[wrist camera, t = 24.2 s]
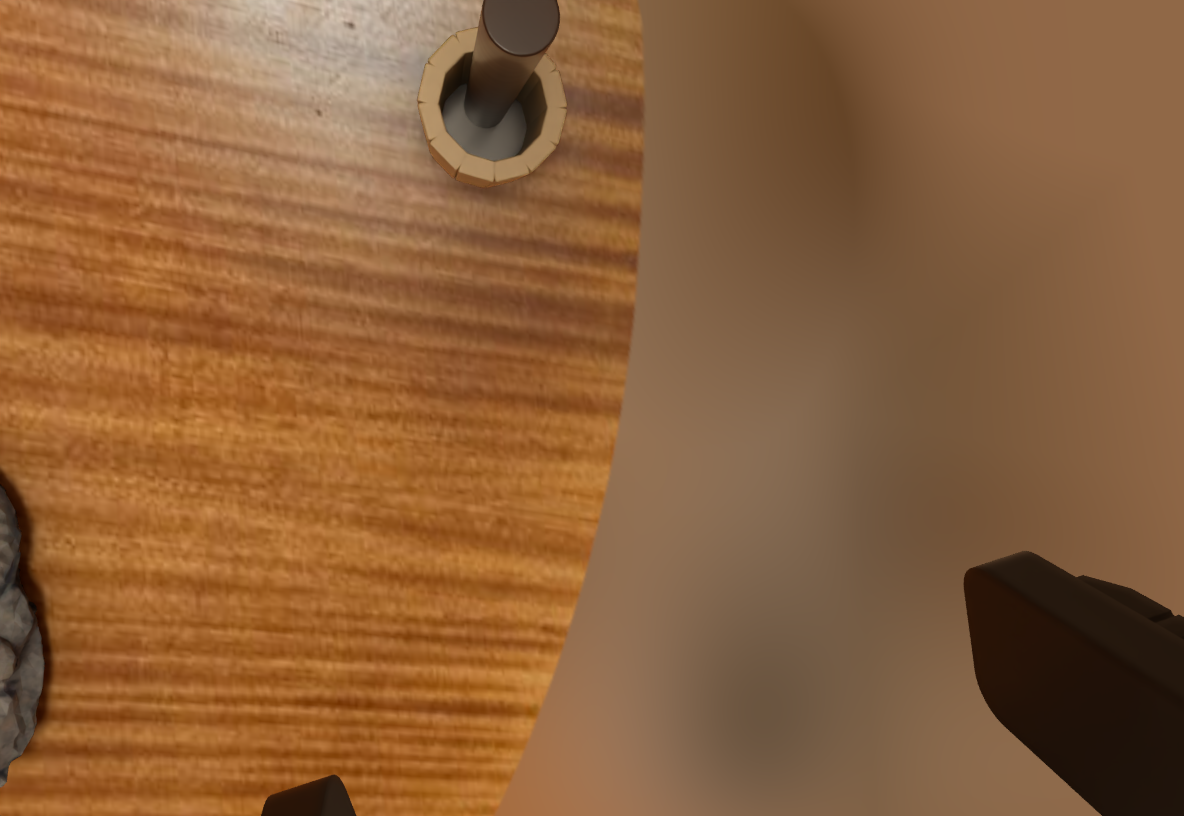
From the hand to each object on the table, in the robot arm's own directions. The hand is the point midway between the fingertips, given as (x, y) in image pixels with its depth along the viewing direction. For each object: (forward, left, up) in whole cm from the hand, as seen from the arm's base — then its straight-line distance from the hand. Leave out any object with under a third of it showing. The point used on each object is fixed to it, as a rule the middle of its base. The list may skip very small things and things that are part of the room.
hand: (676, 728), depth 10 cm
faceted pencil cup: (-2, -10, -33) cm, 34 cm away
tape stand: (-2, -11, -34) cm, 36 cm away
